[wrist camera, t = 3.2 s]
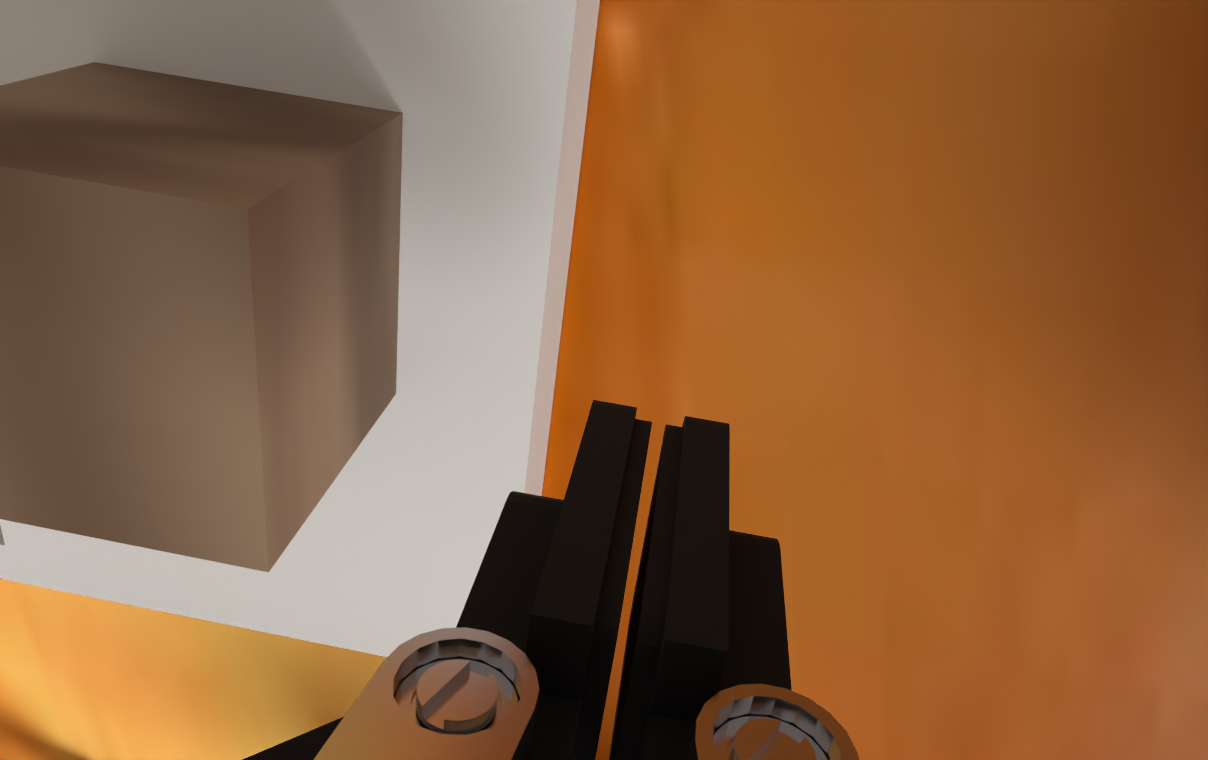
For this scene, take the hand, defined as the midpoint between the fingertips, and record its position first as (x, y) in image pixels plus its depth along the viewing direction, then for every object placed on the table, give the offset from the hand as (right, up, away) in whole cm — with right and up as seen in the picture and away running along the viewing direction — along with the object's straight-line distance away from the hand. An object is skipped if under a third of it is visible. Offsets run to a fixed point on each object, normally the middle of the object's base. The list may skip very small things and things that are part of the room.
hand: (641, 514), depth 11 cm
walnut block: (-6, +4, +4) cm, 9 cm away
